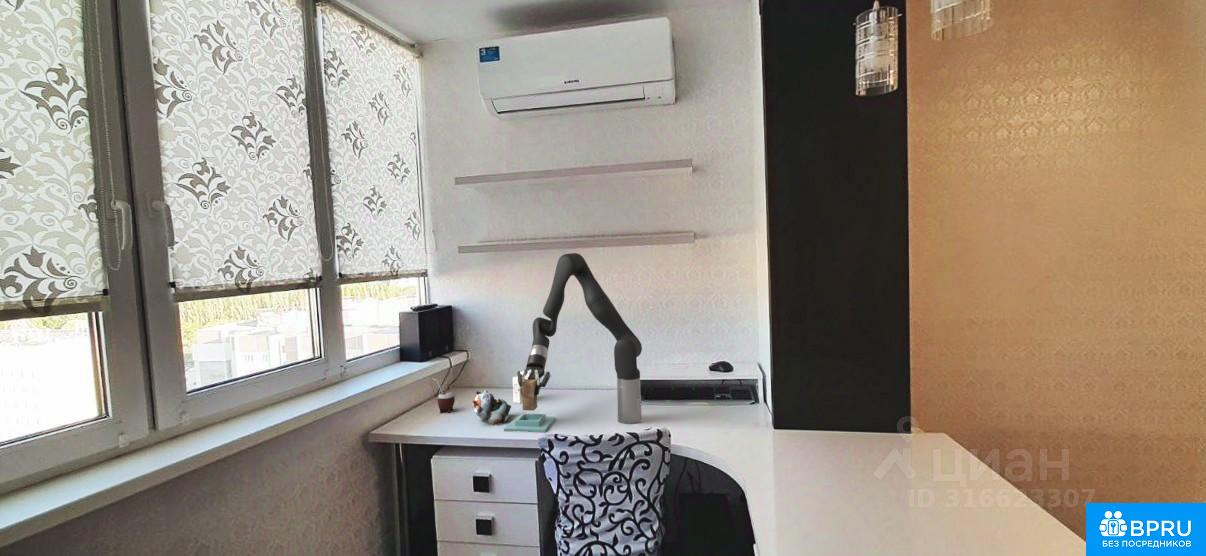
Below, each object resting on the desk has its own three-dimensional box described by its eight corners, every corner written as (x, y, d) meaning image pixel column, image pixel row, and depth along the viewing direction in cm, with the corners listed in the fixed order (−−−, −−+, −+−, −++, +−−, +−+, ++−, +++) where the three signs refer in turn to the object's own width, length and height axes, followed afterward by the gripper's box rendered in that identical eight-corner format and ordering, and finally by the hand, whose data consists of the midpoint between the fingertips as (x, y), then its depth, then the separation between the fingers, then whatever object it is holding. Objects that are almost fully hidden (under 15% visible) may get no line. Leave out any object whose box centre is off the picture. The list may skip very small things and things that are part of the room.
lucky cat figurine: (505, 425, 188) (487, 397, 185) (479, 436, 191) (461, 408, 188) (515, 404, 202) (498, 377, 199) (491, 414, 205) (474, 388, 202)
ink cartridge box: (526, 398, 228) (525, 367, 228) (533, 399, 225) (532, 368, 225) (512, 402, 222) (511, 370, 221) (520, 404, 219) (519, 371, 218)
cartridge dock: (555, 419, 195) (555, 411, 195) (544, 432, 180) (544, 424, 180) (517, 418, 198) (517, 410, 198) (503, 431, 182) (503, 423, 182)
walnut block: (537, 407, 191) (536, 379, 190) (533, 410, 186) (533, 382, 186) (526, 406, 191) (525, 379, 191) (522, 410, 187) (522, 382, 187)
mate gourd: (457, 411, 210) (457, 377, 209) (441, 415, 204) (440, 380, 204) (449, 408, 215) (448, 374, 214) (432, 412, 209) (431, 377, 209)
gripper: (518, 353, 198) (509, 389, 186) (552, 353, 196) (544, 390, 184) (523, 363, 203) (514, 399, 192) (555, 363, 201) (548, 400, 189)
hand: (529, 395), depth 188 cm, fingers closed on walnut block, 4 cm apart
